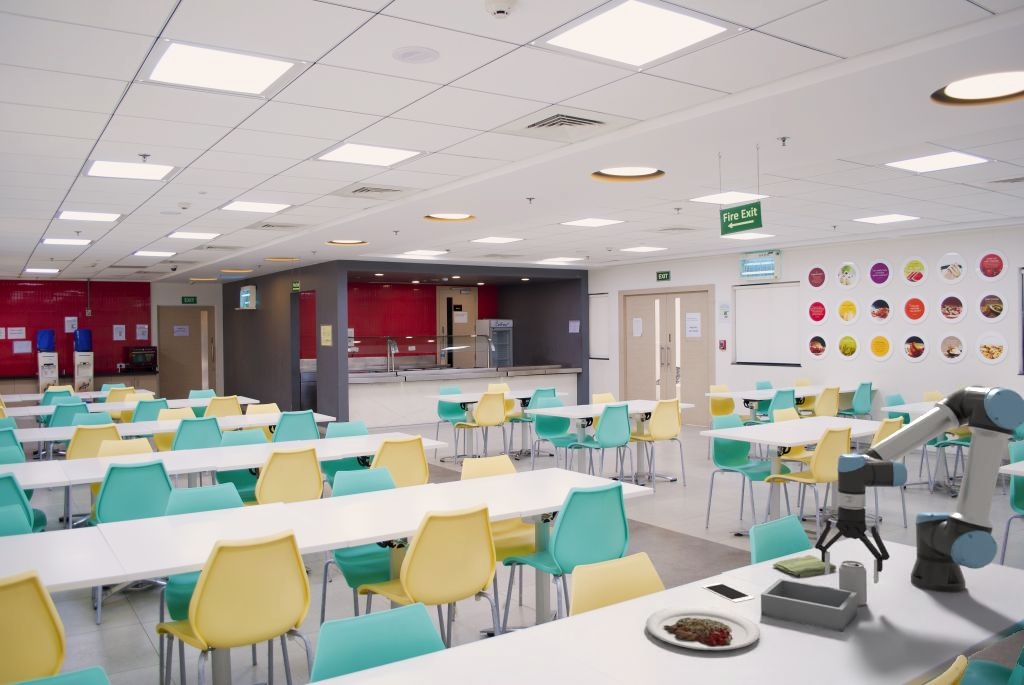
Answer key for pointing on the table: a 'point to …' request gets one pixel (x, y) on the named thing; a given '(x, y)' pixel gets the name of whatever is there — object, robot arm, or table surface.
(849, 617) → the bin
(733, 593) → the cell phone
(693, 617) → the plated food
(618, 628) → the table surface
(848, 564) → the can
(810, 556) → the washcloth
